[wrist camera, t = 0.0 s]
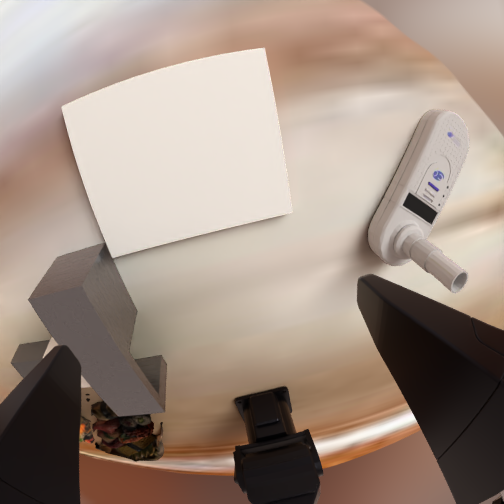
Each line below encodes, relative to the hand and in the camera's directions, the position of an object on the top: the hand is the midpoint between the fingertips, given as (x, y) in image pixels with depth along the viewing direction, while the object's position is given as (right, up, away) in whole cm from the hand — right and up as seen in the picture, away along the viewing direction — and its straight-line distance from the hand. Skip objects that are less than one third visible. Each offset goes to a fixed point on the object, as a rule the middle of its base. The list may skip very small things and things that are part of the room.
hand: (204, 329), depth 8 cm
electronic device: (+16, +9, +16) cm, 24 cm away
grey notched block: (-11, -4, +17) cm, 21 cm away
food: (-22, -22, +25) cm, 40 cm away
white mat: (-4, +9, +11) cm, 15 cm away
